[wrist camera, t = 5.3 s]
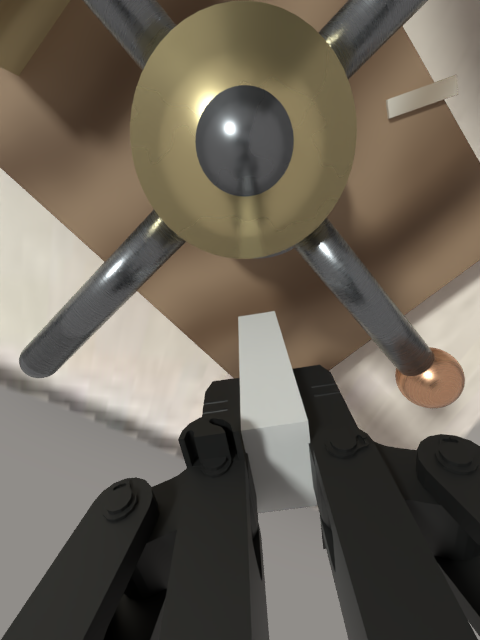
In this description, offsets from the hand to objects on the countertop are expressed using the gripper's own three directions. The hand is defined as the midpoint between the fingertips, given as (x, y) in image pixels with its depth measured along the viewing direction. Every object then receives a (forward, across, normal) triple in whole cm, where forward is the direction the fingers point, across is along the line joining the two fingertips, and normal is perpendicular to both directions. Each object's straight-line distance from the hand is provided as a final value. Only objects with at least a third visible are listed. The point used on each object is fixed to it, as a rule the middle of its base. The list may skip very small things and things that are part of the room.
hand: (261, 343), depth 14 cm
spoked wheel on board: (+8, 0, +7) cm, 11 cm away
